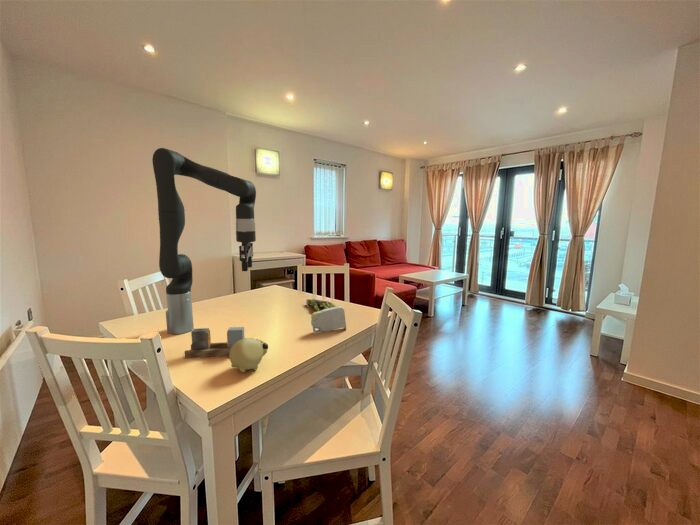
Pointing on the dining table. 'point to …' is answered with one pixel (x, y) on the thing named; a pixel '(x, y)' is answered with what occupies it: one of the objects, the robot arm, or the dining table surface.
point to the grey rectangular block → (234, 335)
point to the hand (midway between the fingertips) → (247, 269)
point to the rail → (209, 352)
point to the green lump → (319, 302)
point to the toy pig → (247, 353)
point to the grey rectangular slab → (328, 319)
